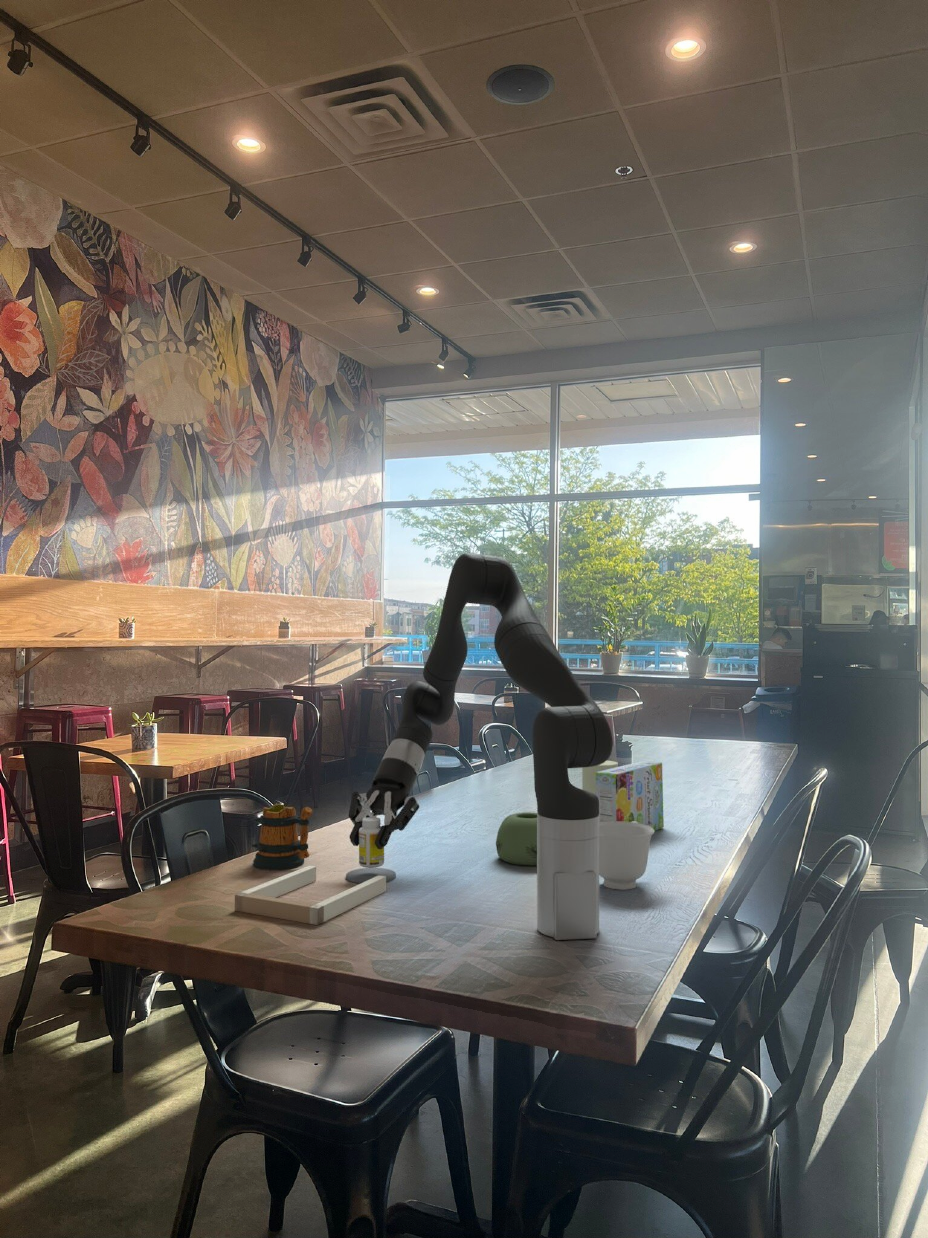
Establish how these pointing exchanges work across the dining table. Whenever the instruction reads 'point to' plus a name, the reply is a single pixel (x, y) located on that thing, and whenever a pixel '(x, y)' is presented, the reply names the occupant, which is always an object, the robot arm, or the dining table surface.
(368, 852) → the supplement bottle
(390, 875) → the coaster
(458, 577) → the robot arm
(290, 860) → the mug
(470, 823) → the dining table surface
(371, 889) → the beige frame
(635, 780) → the snack box
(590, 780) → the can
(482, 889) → the dining table surface
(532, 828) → the mug
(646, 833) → the teacup
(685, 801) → the dining table surface
